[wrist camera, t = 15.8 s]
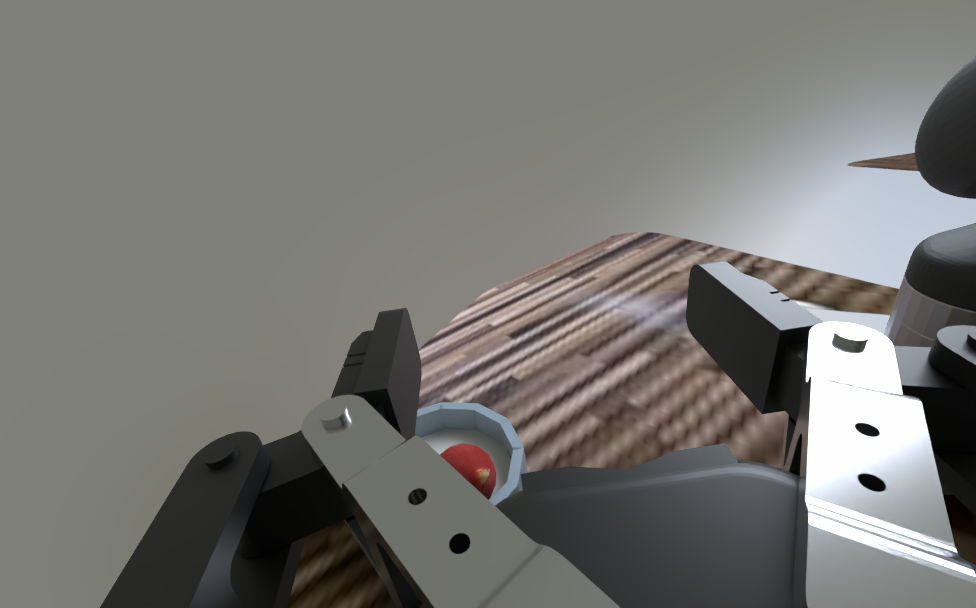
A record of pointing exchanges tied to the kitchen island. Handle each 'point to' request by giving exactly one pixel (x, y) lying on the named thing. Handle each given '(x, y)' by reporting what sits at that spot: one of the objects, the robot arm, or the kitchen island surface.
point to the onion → (473, 466)
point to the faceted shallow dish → (476, 439)
